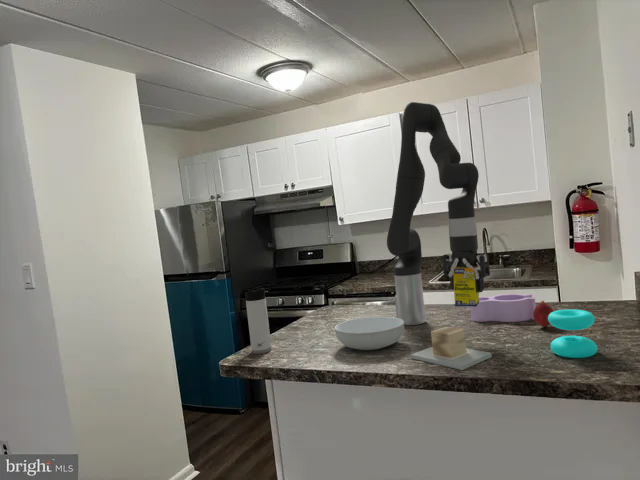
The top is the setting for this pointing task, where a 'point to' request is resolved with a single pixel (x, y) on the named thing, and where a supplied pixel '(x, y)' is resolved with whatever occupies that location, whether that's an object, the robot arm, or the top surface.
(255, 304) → the travel mug
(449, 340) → the block
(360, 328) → the serving bowl
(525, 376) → the top surface
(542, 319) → the onion
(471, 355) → the board
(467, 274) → the supplement box
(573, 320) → the donuts
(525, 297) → the purple cup holder
